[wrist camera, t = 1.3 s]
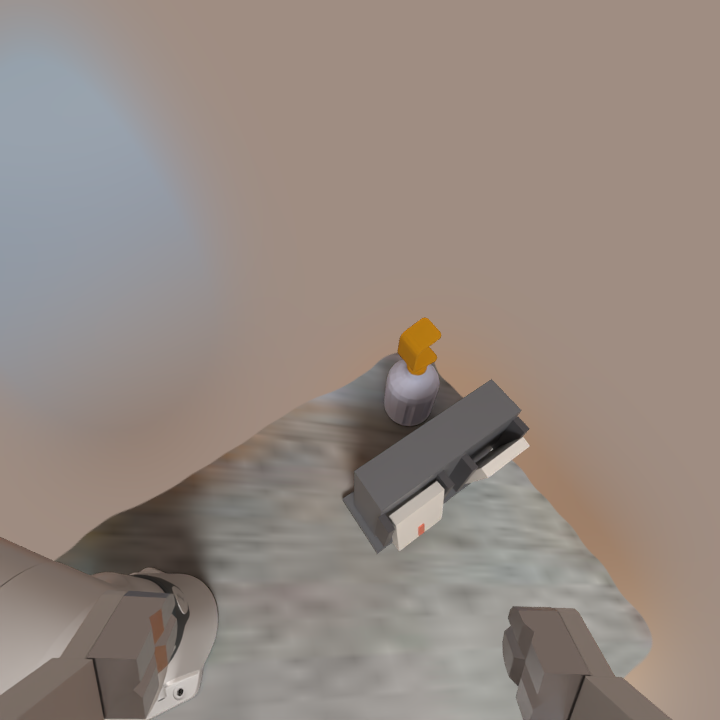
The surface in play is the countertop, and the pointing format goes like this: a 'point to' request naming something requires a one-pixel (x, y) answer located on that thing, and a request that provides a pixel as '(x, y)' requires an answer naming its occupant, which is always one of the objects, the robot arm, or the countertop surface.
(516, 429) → the power panel
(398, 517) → the block
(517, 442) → the block
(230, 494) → the countertop surface
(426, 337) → the soap bottle
